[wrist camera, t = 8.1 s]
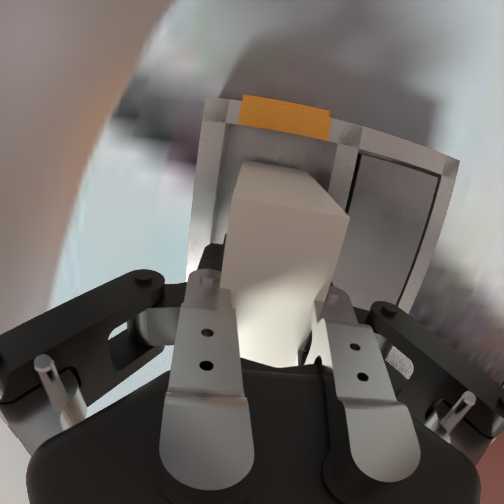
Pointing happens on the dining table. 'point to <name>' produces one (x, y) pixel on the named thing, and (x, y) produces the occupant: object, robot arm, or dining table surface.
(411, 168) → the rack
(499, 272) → the dining table surface
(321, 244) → the panel
